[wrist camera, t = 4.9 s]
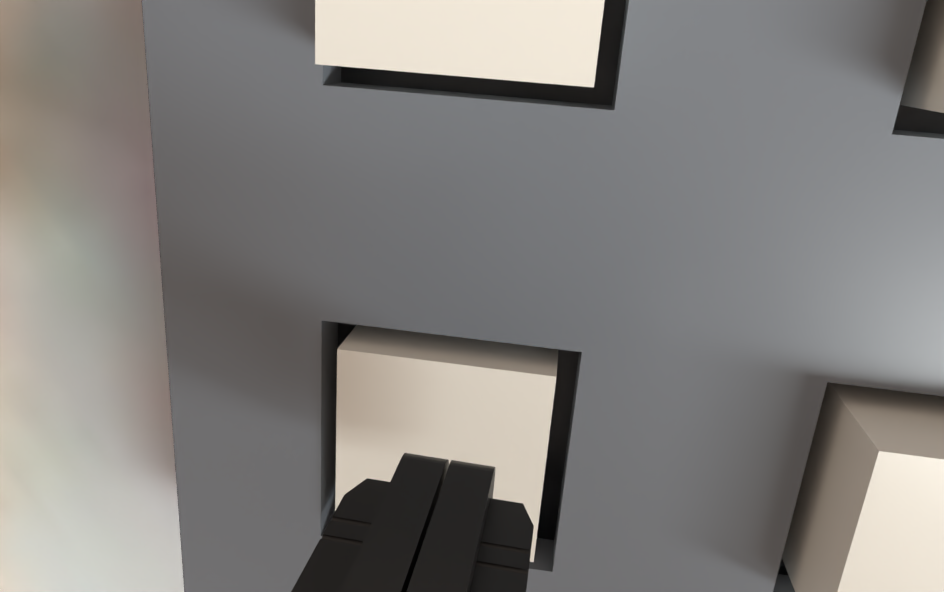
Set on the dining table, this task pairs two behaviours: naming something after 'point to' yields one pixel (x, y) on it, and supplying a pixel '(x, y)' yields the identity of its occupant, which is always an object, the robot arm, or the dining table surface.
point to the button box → (547, 267)
